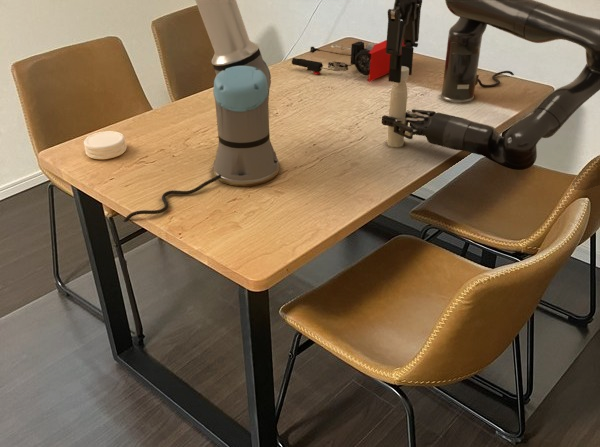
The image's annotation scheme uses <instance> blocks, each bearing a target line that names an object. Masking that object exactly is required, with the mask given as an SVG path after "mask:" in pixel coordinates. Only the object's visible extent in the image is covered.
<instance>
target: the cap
mask: <svg viewBox="0 0 600 447" xmlns="http://www.w3.org/2000/svg"><path fill="white" fill-rule="evenodd" d="M409 76H410V75H409V68H408V67H405V66H402V68H401V81H404V80H406V81H407V80H409Z"/></svg>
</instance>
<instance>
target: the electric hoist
mask: <svg viewBox="0 0 600 447" xmlns="http://www.w3.org/2000/svg"><path fill="white" fill-rule="evenodd" d="M386 42H387V39H385V40H383V41H381V42H378V43H377V42H368V44H366V45H365V42H363V41H356V42H353V43H351V47H349V46H344V45H341V46H339V45H338V44H333V45H330V47H331V48H333V49H340V50H341V51H343V50H347V51H350V54H347V56H348V57H350V64H347V63H345V62H340V61H334V62H332V61H329V62H327V65H328V66H327V67H324V65H323V63H322V62H321V61H315V60H310V59H305V58H297V57H296V58H295V57H292V59H291V64H292V65H293V66H298V67H302V68H303V67H304V68H306V71H310V72H313V74H314V75H320V74H321V71H322V70H328V71H334V72H341V71H342V72H346V71H348V70H349V67H350V66H354V67H355V69H356V70H357V72H358V73H359V74H362V75H364V76H368V78H367V79H366V81H367V82H372V81H374V80H376V79H378V78H381V77H383V76H385V75H387V74H389V68H390V54H386ZM402 46H406V45H404V38H403V44H402ZM316 51H317V52H324V53H325V52H326V53H331V54H336V55H340V56H341V55H342V56H346V54H343V53H338V52H333V51H328V50H322V49H319V48H316V47H315V46H310V48H309V53H312V54H314V53H315V52H316ZM401 51H402V49H401Z"/></svg>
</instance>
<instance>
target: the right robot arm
mask: <svg viewBox="0 0 600 447" xmlns="http://www.w3.org/2000/svg"><path fill="white" fill-rule="evenodd" d="M444 1H445V5H446V7H447V9H448V10H449V12H450V13H451V14H452V15H454V16H456V17H458V20H457V21H456V22H455V23H454V24H453V25H452V26H451V27H450V28H449V30H448V37H447V44H446V53H445V63H444V70H443V71H444V72H443V81H442V89H441V94H440V97H441V99H442V100H444V101H446V102H448V103H454V104H466V103H470V102H472V101H474V99H475V91H476V90H475V89H476V86H478V85H479V86H480V87H482V88H494V87H497V86H499V85H500V84H501V81H500V80H499V79H498V78H497V77H498V76H499V75H503V74H509V75H511V76H515V73H514V72H513V71H510V70H502V71H499V72H496V73H494V74H493V75H492V76H491V78H492V80H493V81H494V82H495V83H492V84H484V83H482V81H481V79H480V78H479V76H480V74H478V70H479V69H478V68H479V63H480V54H481V48H482V47H481V46H482V40H483V35H484V33H485V31H486V30H487V26H490V27H492V28H495V29H497V30H499V31H503V32H505V33H508V34H510V35H513V36H514V37H517V38H520V39H522V40H525V41H528V42H530V43H534V44H544V43H549V42H553V41H557V40H563V41H567V42H569V43H570V42H571V43H574V44H576V45H578V46H581V47H582V48H584V49H585V61H586V64H585V65H584V67H583V69H582V70H581V71H580V72H579V74H578V76H577V77H576V78H574V80H572V81H571V82H569V83H567V84H566V85H562V86H560V87H558V88H556V89H554V90H553V91H551V92H550V93H549V94H547V95H546V96H545V97H544V98H543V99H542V100H541V101H540V102H539V104H538V105H537V106H535V108H534V109H533V110H532V112H531V113H530V114H528V115H527V116H525V117H523V118H522V119H521V120H518V122H516V123H515V124H514V125H512V126H511V127H510V128H509V129H508V130H507V132H506V133H505V134H504V136H502V135H500V134H499V132H498V131H497V129H496V128H495V127H494V126H492V125H490V124H484V123H480V122H476V121H473V120H470V119H467V118H464V117H460V116H455V115H451V114H447V113H444V112H443V113H442V112H436V111H434V110H424V109H416V108H413V109H411V111H410V110H406V119H398V118H394V117H390V116H389V115H385V114H384V115H382V116H381V124H382V125H384V126H387V127H388V126H391V127H394V131H393V132H395V133H397V134H399V135H401V136H403V137H404V139H405V138H406V139H407V140H413V137H414V136H421V137H425V138H426V141H427V142H428V144H432V145H435V146H439V147H444V148H447V149H451V150H455V151H463V152H467V153H471V154H473V155H479V156H482V157H484V158H486V159H488V160H489V161H492V162H494V163H496V164H497V165H500V166H502V167H504V168H507V169H510V170H514V171H523V170H527V169H529V168H531V167H532V166H534V164H535V163H536V160H537V157H538V151H537V144H538V143H539V142H540V141H541V139H549V138H551V137H552V136H554V135H555V134H556V133H558V131H559V130H560V129H561V128H562V126H564V125H565V123H567V121H568V120H569V119H570V118H571V117H572V115H574V113H575V112H576V111H577V110H578V109H579V108H580V107H581V106H583V105H584V103H586V102H587V101H589V99H590V98H592V97H593V96H594V95H595V94H596V93H598V92H599V91H600V18H596V17H591V16H585V15H581V14H578V13H574V12H570V11H568V10H564V9H561V8H556V7H554V6H551V5H549V4H547V3H543V2H541V1H537V0H444ZM402 123H404V124H402Z"/></svg>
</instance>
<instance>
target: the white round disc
mask: <svg viewBox="0 0 600 447" xmlns="http://www.w3.org/2000/svg"><path fill="white" fill-rule="evenodd" d="M83 146H84V151H85V154H86V156H87V157H88V158H91V159H94V160H109V159H113V158H117V157H120V156H122V155H123V154H124V153H125V152H126V151H127V147H128V146H127V142H126V137H125V135H124V134H122V133H121V132H119V131H115V130H114V131H113V130H106V131H105V130H104V131H99V132H95V133H93V134H90V135H88V136H87V137H85V139H84V140H83Z"/></svg>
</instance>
